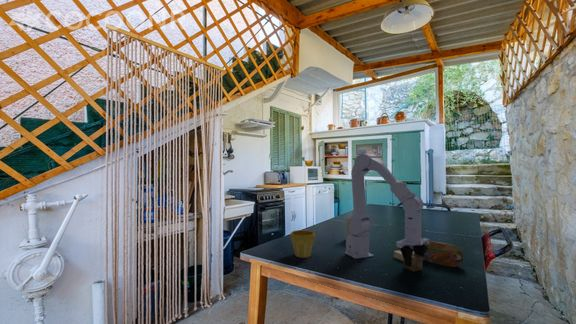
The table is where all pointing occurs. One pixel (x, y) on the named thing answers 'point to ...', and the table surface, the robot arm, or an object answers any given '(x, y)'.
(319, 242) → the table surface
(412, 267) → the walnut block
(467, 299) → the table surface
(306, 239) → the plant pot
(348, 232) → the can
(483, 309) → the table surface
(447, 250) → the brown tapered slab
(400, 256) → the oak block
